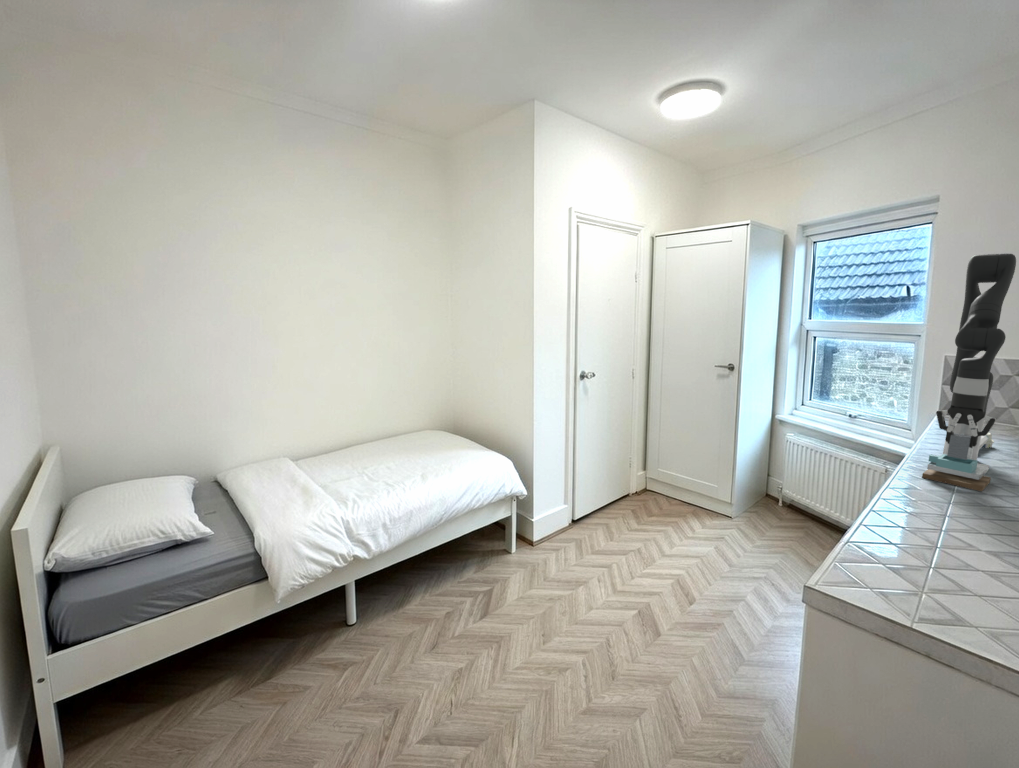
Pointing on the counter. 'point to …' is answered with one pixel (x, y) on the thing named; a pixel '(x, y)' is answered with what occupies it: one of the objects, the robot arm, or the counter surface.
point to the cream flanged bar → (986, 441)
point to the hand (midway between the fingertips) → (960, 445)
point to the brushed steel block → (959, 446)
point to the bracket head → (954, 463)
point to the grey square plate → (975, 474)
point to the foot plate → (957, 479)
